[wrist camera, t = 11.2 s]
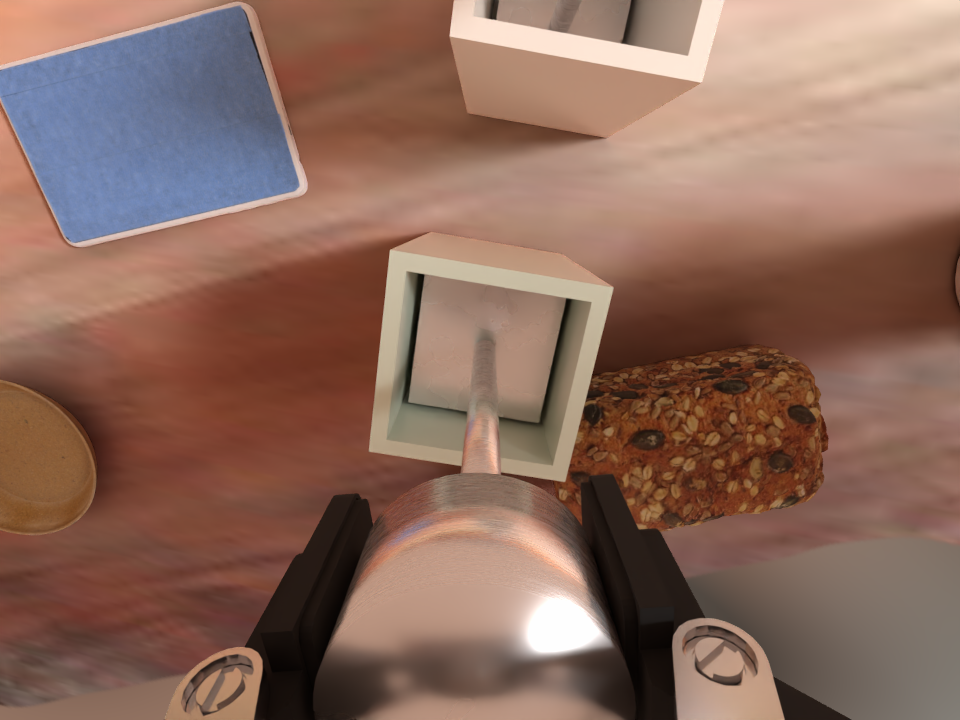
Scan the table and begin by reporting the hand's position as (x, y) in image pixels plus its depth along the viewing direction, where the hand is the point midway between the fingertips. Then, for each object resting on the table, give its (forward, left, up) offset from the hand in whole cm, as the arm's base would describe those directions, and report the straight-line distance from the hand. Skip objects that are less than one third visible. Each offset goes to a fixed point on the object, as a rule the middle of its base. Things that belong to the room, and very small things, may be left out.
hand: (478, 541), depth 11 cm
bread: (-16, -6, -28) cm, 33 cm away
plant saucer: (+13, +40, -28) cm, 51 cm away
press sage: (0, 0, -28) cm, 28 cm away
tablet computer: (+24, +12, -29) cm, 39 cm away
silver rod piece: (0, 0, -17) cm, 17 cm away
